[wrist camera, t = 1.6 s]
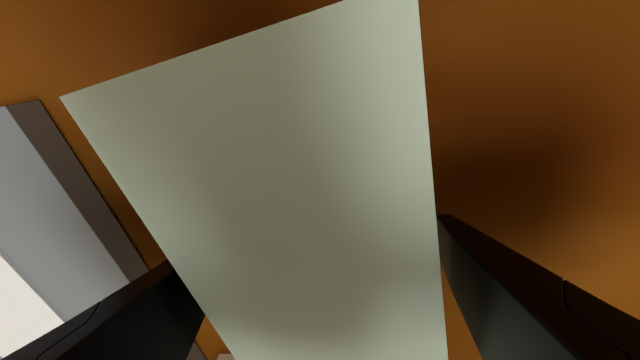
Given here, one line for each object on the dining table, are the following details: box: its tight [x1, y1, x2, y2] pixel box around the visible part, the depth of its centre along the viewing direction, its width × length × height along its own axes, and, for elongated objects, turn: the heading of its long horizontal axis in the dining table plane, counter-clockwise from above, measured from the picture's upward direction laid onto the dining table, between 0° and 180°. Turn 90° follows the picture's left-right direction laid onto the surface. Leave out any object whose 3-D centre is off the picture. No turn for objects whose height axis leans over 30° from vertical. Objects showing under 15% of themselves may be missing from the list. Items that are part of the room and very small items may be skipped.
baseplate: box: [0, 101, 206, 360], centre depth 14 cm, size 18×18×1 cm
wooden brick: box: [59, 0, 448, 360], centre depth 8 cm, size 12×6×4 cm, turn 15°
